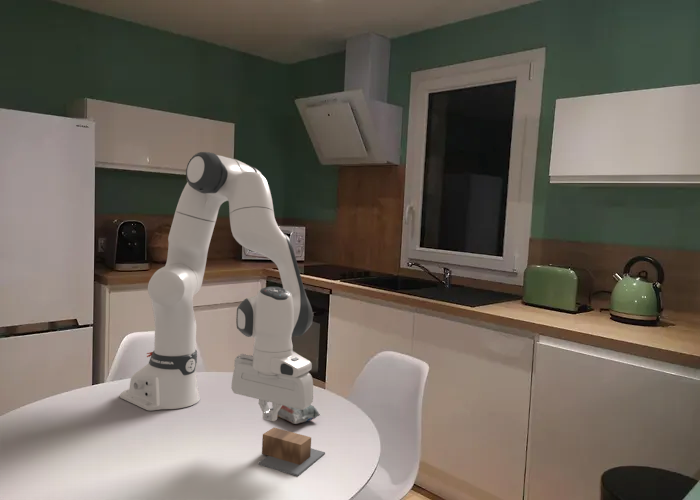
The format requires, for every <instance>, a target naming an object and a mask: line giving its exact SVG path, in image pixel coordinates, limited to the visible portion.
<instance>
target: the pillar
mask: <svg viewBox="0 0 700 500" xmlns="http://www.w3.org/2000/svg"><path fill="white" fill-rule="evenodd" d="M261 443H262V444H261V454H263V455H265V456H271V457H275V458H278V459H282V460H285V461H288V462H292V463H295V464H298V465H301V464H302V463H303V462H304V461H306V460H307V459H308V458H309V457H310V454H311V447H312V437H311V436H308V435H304V434H300V433H297V432H293V431H289V430H286V429H281V428H277V427H273V428H271V429H269V430H267V431H266V432H264V433H262V442H261Z"/></svg>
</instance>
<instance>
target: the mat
mask: <svg viewBox="0 0 700 500" xmlns="http://www.w3.org/2000/svg"><path fill="white" fill-rule="evenodd" d="M324 455H326V452H325V451H322V450H319V449H318V450H317V449H314V448H311V454H310V457H309V458H308V459H307V460H306V461H304V462H303V463H302V464H301V465H298V464H295V463H292V462H288V461H285V460H282V459H278V458H275V457H271V456H268V455H266V457H265V458H263V459H261V460H260V461H259V462H258V463H257V464H258V465H260V466H263V467H267V468H269V469H273V470H276V471H279V472H283V473H286V474H289V475H293V476H296V477H299V476H300V475H301V474H303V473H304V472H305V471H306V470H308V469H309V468H310V467H311V466H313V464H315V463H316V462H317V461H318V460H320V459H321V458H322V457H323V456H324Z"/></svg>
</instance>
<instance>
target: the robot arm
mask: <svg viewBox="0 0 700 500" xmlns="http://www.w3.org/2000/svg"><path fill="white" fill-rule="evenodd" d="M185 176H186V184H185V185H184V188H183V189H182V192H181V194H180V197H179V199H178V202H177V206H176V208H175V212H174V215H173V219H172V223H171V225H170V226H171V227H170V230H169V234H168V237H167V240H168V248H167V249H168V250H167V256H166V257H167V258H166V263H165V266H162V267H160V268H159V269H157V270H156V271H155V272H154V273H153V274H152V276H151V277H150V279H149V281H148V285H147V292H148V296H149V298H150V300H151V307H152V312H153V319H154V342H153V343H154V347H153V349H154V350H153V351H150V352H147V353H146V358H149V361H148V363H147V364H146V365H144V366H143V367H142V368H140V369H138V371H136V372H134V373H133V374H132V376H131V377H130V380H129V381H130V382H129V387H128V388H127V389H125V390H123V391H122V392H121V393H120V396H119V398H121V399H122V400H125V401H126V402H128V403H131V404H133V405H135V406H138V407H139V408H141V409H144V410H146V411H148V412H149V411H159V410H177V409H182V408H186V407H190V406H192V405H195V404H198V402H199V401H201V400H200V399H201V397H200V394H199V393H200V392H199V388H198V381H197V369H196V367H197V363H198V351H197V350H198V349H196V348H197V347H196V346H197V321H196V316H195V311H194V296H196V294H198V293H199V291H200V290H201V288H202V285H203V282H204V281H203V280H204V276H205V271H206V264H207V260H208V259H207V258H208V252H209V247H210V243H211V239H212V236H213V232H214V230H215V229H214V228H215V225H216V222H217V218H218V214H219V210H220V208H221V206H222V204H223V203H225V202H228V206H229V207H228V208H229V209H228V210H229V211H228V212H229V224H230V230H231V233H232V237H233V239H235V241H236V242H237V243H238V244H239V245H240V246H242V247H243V248H245V249H247V250H249V251H251V252H255V253H257V254H260V255H262V256H263V257H266V258H268V259H269V260H271V261H272V263H274V264H275V266H276V267H277V269H278V272H279V277H280V280H281V281H280V282H281V284H282V287H279V286H267V287H263V288H261V289H259V290H258V292H257V295H255V296H251V297H248V298H245V299H243V300H242V301H241V302H240V303H239V305H238V307H236V308H237V309H236V317H235V319H236V322H235V323H236V328H237V330H238V331H239V332H240V333H241V334H242V335H243V336H245V337H246V338H247V337H248V338H254V344H253V349H252V350H253V351H252V355H251V354H249V355H248V354H245V353H240V354H238V355H237V356H236V357H235V359H234V366H233V368H234V369H233V373H232V380H231V391H232V392H233V393H234V394H235V395H240V396H244V397H248V398H252V399H256V400H258V405H259V408H260V409H261V411H262V419H263V420H267V421H271V422H276V421H277V419H278V416H277V415H278V411H279V410H280V408H281V407H282V405H284V406H288V407H292V408H297V409H301V410H303V409H305V408H307V407H309V406H310V405H312V404H313V401H314V381H313V376H312V375H311V373H310V371H312V368H313V367H312V366H313V365H312V364H313V363H312V362H311V361H310V360H309V359H307V358H305V357H303V356H302V355H300V354H298V353H297V352H296V351H294V350H293V349H294V348H293V347H294V346H293V342H292V338H293V337H301V336H303V335H304V334H305V333H306V332H307V331H308V330H309V328H311V326H312V325H313V319H314V312H313V308H312V305H311V303H310V300H309V298H308V296H307V292H306V290H305V287H304V284H303V279H302V276H301V273H300V268H299V265H298V262H297V258H296V255H295V252H294V248H293V245H292V242H291V240H290V237H289V236H288V235H287V234H285V233H283V231H282V230H281V229H280V227H279V224H278V223H277V221H276V218H275V217H276V216H275V211H274V204H273V198H272V194H271V193H272V192H271V189H270V185H269V184H268V180H267V179H266V177H265V176H264V175H263V174H262V172H261V171H260V170H258V169H257V167H255V166H254V165H253V166H252V165H250V164H246V163H245V162H242V161H240V160H238V159H236V158H233V157H231V158H230V157H227V156H224V155H220V154H216V153H214V152H208V151H200V152H197V153H195V154H194V155H193V156H192V157H191V158H190V159H189V161H188V162H187V165H186V169H185ZM268 403H271V408H272V407H274V409H273V411H272V410H269V409H270V408H269V404H268Z"/></svg>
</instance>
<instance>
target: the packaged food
mask: <svg viewBox="0 0 700 500" xmlns="http://www.w3.org/2000/svg"><path fill="white" fill-rule="evenodd" d="M273 409H274V407H272V406H271V408H269V410H272V411H273ZM320 414H321V413H319V411H318V409H317V408H316V407H315V406H314V405H312V404H311V405H310V406H309V407H307V408H305V409H303V410H301V409H297V408H292V407H288V406H284V405H282V407H281V408H280V410H279V411H278V415H277V418H280V419H283V420H285V421H287V422H289V423H291V424H295V425H298V424H301V423H305V422H308V421H312V420H314V419H316V418H317V417H320V416H321V415H320Z"/></svg>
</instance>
